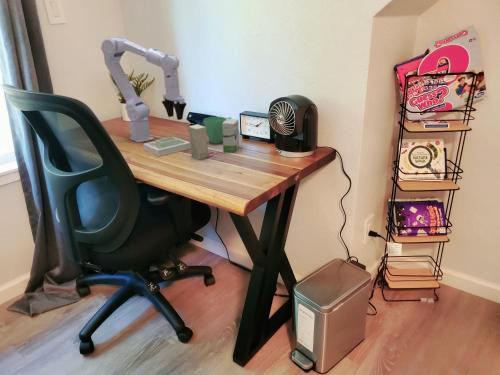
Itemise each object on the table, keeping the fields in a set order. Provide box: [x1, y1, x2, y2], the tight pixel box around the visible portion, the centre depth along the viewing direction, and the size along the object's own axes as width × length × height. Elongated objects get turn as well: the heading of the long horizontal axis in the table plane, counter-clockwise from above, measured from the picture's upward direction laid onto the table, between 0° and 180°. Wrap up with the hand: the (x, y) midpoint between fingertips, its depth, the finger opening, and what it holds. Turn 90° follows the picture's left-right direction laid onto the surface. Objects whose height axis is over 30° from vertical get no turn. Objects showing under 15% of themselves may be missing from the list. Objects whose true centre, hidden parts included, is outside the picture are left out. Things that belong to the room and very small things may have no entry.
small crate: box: [154, 136, 179, 149], centre depth 162 cm, size 5×8×4 cm, turn 130°
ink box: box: [222, 118, 240, 153], centre depth 158 cm, size 9×5×12 cm, turn 168°
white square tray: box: [143, 136, 191, 157], centre depth 162 cm, size 12×15×2 cm
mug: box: [203, 116, 233, 145], centre depth 170 cm, size 15×10×10 cm
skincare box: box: [188, 124, 209, 161], centre depth 150 cm, size 6×4×12 cm
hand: (175, 118), depth 169 cm, fingers open, 7 cm apart
